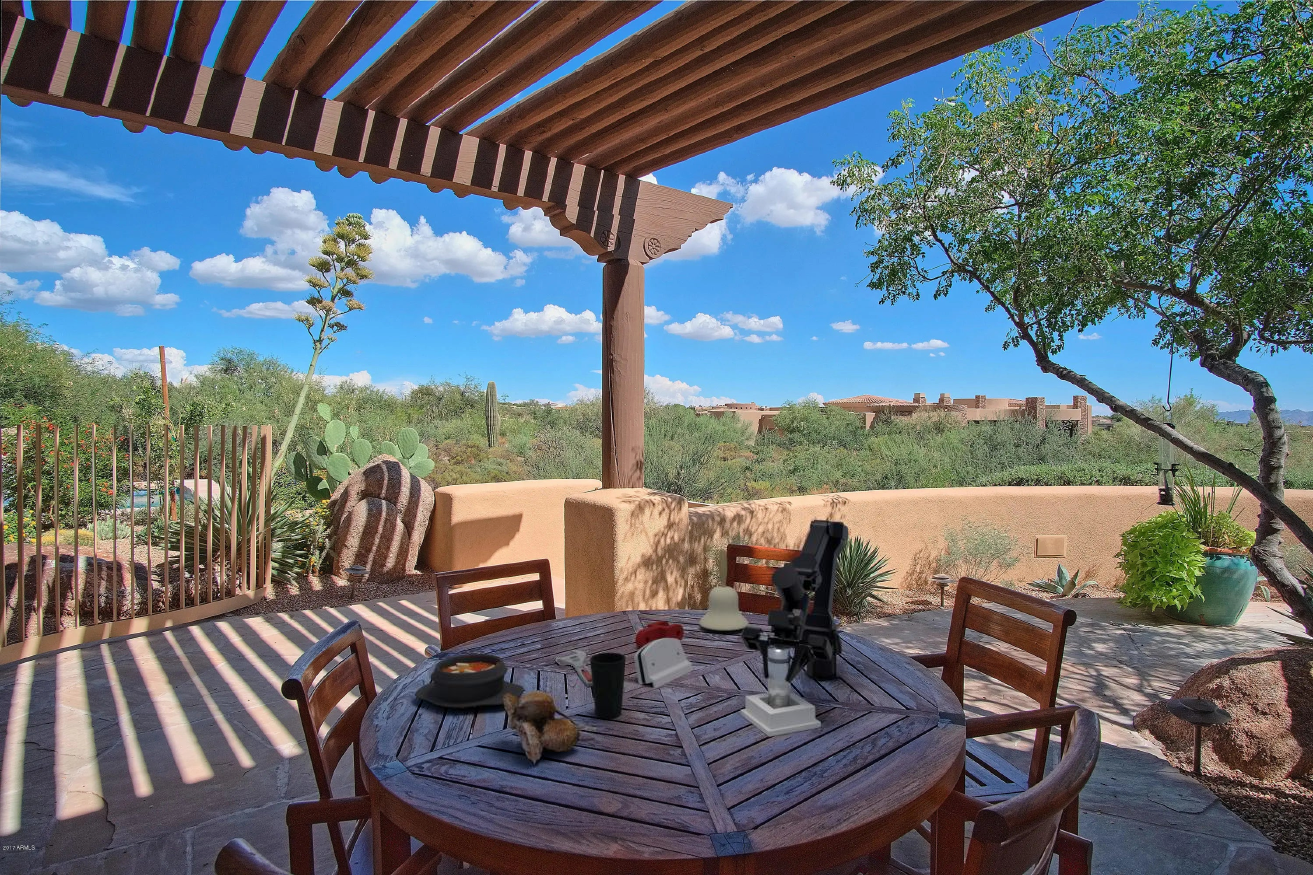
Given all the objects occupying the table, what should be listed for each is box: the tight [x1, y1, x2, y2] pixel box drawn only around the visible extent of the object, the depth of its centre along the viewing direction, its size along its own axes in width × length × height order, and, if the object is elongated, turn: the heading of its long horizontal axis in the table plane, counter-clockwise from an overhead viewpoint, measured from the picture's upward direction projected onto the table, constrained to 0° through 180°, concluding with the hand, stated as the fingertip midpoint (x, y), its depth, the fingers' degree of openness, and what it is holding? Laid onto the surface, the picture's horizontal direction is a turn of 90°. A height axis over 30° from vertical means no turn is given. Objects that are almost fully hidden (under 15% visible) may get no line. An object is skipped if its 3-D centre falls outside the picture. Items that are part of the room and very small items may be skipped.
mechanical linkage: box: [634, 620, 685, 649], centre depth 199 cm, size 16×7×5 cm, turn 139°
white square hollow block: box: [739, 691, 822, 738], centre depth 142 cm, size 12×12×4 cm
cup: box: [589, 652, 627, 720], centre depth 147 cm, size 8×8×12 cm
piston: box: [767, 645, 792, 709], centre depth 142 cm, size 5×5×13 cm
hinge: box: [633, 638, 694, 689], centre depth 171 cm, size 17×5×10 cm, turn 143°
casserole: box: [414, 653, 525, 709], centre depth 156 cm, size 25×19×8 cm
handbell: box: [698, 548, 749, 631], centre depth 214 cm, size 15×15×25 cm
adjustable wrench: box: [555, 649, 593, 687], centre depth 175 cm, size 8×26×2 cm, turn 14°
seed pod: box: [503, 690, 597, 765], centre depth 131 cm, size 13×16×15 cm
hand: (777, 679), depth 141 cm, fingers closed on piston, 5 cm apart
